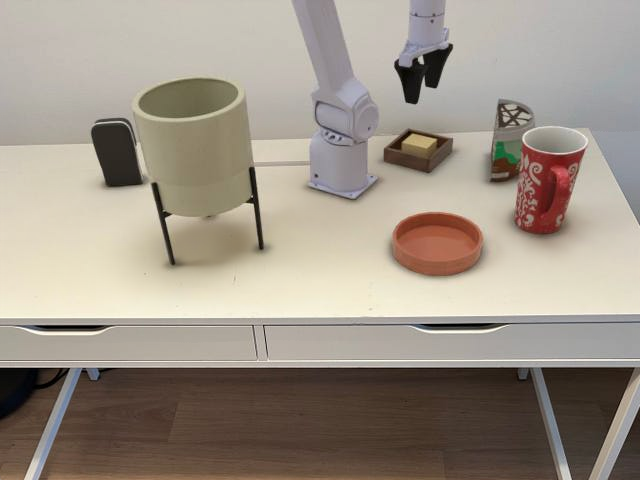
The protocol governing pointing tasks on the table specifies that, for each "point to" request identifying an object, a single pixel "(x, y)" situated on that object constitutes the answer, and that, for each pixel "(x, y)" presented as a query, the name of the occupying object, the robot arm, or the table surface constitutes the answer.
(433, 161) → the holder
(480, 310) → the table surface
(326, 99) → the robot arm
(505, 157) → the food container
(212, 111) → the planter
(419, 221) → the bowl
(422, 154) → the block
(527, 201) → the mug
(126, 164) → the battery charger
